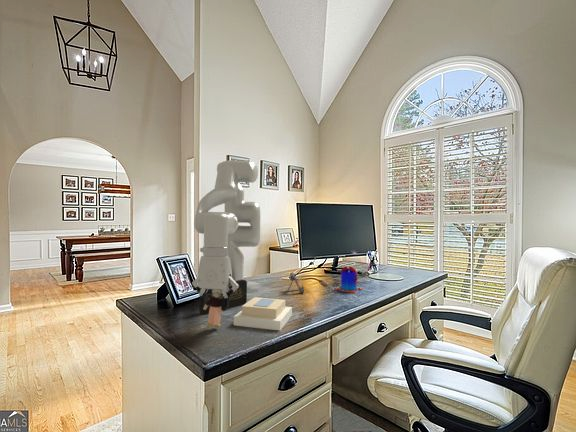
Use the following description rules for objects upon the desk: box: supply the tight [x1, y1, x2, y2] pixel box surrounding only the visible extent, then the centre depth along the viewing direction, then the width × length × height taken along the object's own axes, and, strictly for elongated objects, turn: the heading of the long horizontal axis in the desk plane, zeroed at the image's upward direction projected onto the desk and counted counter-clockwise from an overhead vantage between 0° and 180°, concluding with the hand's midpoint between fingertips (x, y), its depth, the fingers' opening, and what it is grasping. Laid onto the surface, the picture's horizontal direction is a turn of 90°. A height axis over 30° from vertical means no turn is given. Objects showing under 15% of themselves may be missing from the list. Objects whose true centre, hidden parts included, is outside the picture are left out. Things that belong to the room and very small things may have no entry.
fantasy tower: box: [333, 265, 364, 294], centre depth 158 cm, size 12×12×12 cm
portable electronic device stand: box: [286, 272, 305, 295], centre depth 152 cm, size 9×8×8 cm
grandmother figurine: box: [203, 289, 222, 328], centre depth 100 cm, size 8×4×13 cm, turn 119°
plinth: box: [233, 296, 293, 331], centre depth 110 cm, size 16×16×6 cm
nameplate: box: [198, 279, 248, 315], centre depth 122 cm, size 21×2×10 cm, turn 138°
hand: (214, 308), depth 100 cm, fingers closed on grandmother figurine, 6 cm apart
